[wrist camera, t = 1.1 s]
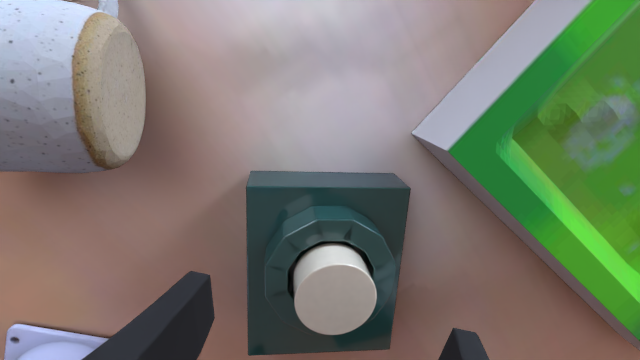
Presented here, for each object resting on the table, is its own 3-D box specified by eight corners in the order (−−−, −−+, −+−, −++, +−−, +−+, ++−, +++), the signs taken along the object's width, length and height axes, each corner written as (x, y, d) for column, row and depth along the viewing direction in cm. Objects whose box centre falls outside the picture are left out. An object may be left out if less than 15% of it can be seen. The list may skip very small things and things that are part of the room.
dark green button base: (377, 319, 26) (399, 375, 21) (251, 323, 25) (245, 383, 20) (394, 173, 23) (424, 200, 18) (250, 170, 22) (242, 199, 17)
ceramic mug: (157, 156, 21) (92, 201, 13) (0, 148, 20) (-164, 191, 12) (148, -52, 18) (60, -139, 11) (-36, -75, 17) (-277, -191, 9)
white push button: (363, 307, 20) (373, 334, 18) (291, 309, 20) (293, 337, 17) (369, 242, 19) (381, 263, 17) (293, 242, 18) (295, 264, 16)
